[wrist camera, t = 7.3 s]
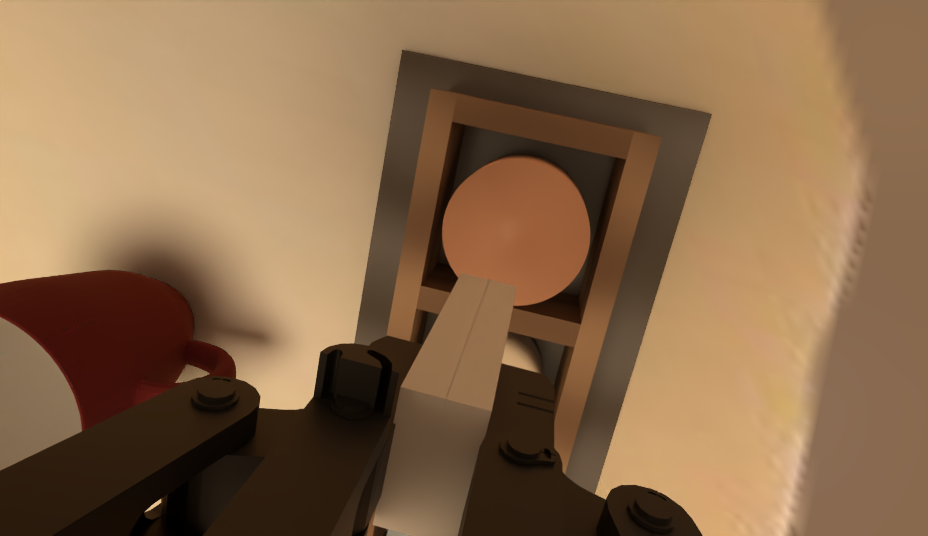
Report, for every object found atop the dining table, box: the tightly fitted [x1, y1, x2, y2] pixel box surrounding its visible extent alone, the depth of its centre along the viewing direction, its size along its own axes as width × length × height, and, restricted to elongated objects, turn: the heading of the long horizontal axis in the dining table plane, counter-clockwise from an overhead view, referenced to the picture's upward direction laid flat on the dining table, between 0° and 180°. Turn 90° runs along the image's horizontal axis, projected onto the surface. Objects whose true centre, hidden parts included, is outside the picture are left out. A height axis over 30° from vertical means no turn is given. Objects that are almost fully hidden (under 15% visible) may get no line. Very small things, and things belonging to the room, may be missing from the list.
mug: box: [0, 270, 236, 470], centre depth 26 cm, size 11×8×10 cm
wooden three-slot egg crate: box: [354, 50, 712, 536], centre depth 27 cm, size 26×13×4 cm, turn 169°
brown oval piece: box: [442, 154, 590, 306], centre depth 23 cm, size 5×5×3 cm
